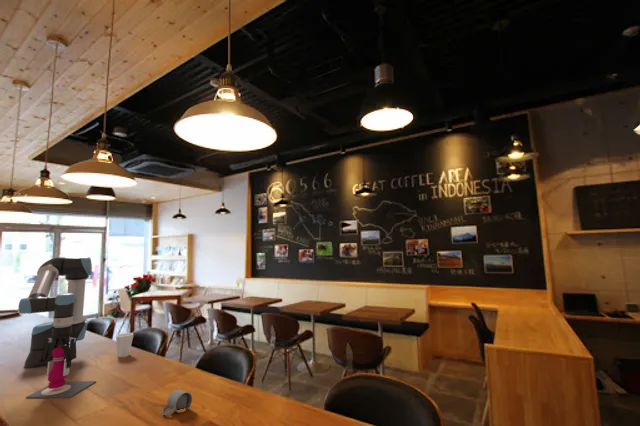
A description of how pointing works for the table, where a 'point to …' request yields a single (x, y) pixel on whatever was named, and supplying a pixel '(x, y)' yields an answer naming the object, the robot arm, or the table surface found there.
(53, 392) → the mat
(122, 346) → the foam cup
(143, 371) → the table surface
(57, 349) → the pepper mill
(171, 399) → the ceramic mug
